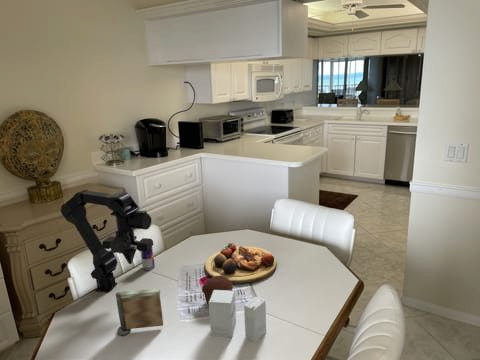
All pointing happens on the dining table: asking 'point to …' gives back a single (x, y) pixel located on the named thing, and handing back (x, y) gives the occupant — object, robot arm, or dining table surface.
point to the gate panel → (139, 309)
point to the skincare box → (255, 318)
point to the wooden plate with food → (241, 264)
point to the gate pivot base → (123, 332)
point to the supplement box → (222, 313)
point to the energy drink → (148, 259)
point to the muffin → (216, 286)
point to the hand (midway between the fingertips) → (130, 263)
